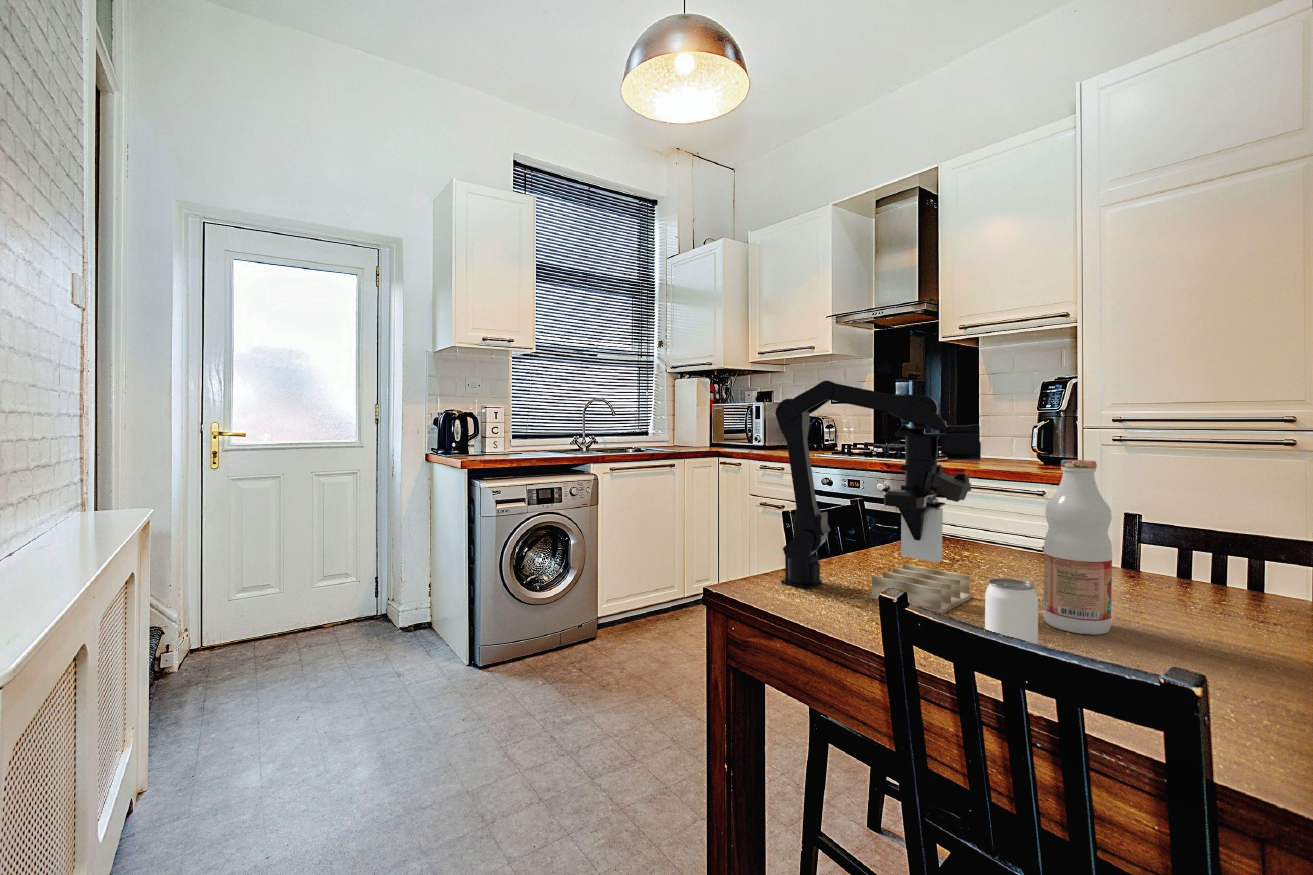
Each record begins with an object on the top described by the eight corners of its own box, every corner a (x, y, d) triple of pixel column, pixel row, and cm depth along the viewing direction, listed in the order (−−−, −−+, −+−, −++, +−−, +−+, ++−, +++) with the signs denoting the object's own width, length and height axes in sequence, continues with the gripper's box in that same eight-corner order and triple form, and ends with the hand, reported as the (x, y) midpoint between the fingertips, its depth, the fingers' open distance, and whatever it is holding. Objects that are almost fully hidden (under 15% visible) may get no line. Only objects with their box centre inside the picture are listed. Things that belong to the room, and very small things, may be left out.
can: (1045, 678, 82) (1046, 591, 81) (993, 674, 83) (994, 588, 83) (1026, 659, 88) (1027, 578, 88) (978, 656, 89) (979, 576, 89)
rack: (868, 597, 118) (868, 575, 118) (902, 583, 128) (902, 563, 128) (941, 614, 108) (941, 590, 108) (972, 597, 118) (972, 575, 118)
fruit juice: (1030, 617, 106) (1032, 458, 105) (1082, 615, 107) (1084, 458, 105) (1069, 636, 97) (1071, 463, 96) (1125, 635, 97) (1128, 462, 96)
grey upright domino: (900, 556, 119) (901, 506, 119) (906, 554, 121) (906, 504, 121) (936, 562, 114) (937, 510, 114) (941, 560, 116) (942, 508, 116)
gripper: (943, 465, 105) (942, 553, 105) (983, 459, 117) (982, 538, 118) (882, 461, 113) (882, 544, 114) (926, 456, 126) (925, 530, 126)
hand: (920, 539), depth 118 cm, fingers closed on grey upright domino, 2 cm apart
